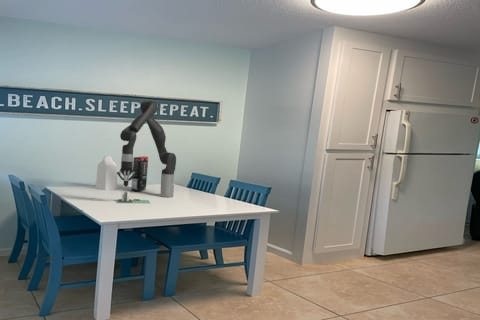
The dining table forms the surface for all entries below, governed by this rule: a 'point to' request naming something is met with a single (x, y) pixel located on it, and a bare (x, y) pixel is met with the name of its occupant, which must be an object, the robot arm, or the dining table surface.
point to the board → (133, 201)
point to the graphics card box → (139, 173)
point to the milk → (106, 174)
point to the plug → (125, 196)
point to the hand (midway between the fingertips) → (125, 186)
